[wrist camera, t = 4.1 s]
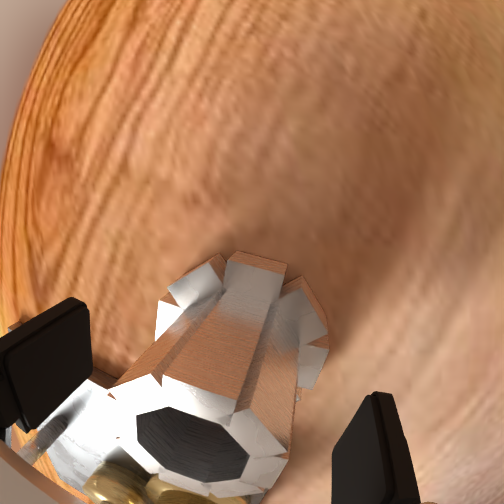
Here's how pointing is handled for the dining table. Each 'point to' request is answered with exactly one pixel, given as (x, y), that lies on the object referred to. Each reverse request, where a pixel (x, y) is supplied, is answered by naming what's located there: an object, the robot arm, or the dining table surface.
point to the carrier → (104, 453)
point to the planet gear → (222, 377)
